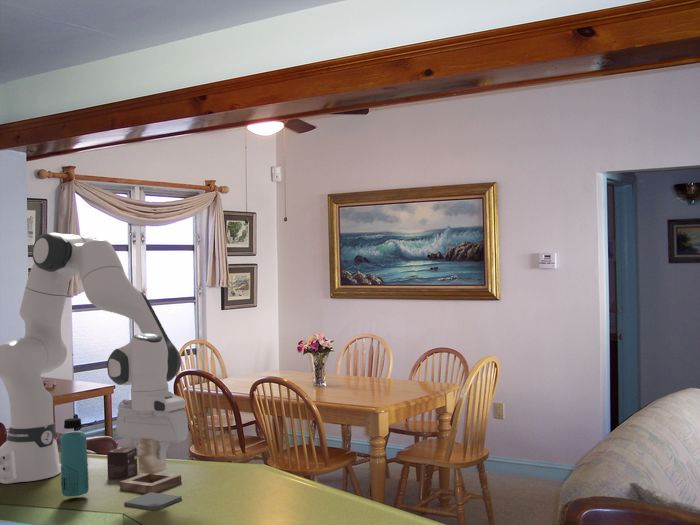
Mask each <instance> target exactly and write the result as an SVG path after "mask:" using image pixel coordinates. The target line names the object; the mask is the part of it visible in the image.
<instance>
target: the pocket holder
mask: <svg viewBox="0 0 700 525" xmlns="http://www.w3.org/2000/svg"><path fill="white" fill-rule="evenodd" d="M181 483H182V475H181V474H174V473H166V472H158V473H155V474H146V473H140V474H138V475H134V476H132V477H130V478H128V479H124V480H121V481H119V490H120V491H128V492H135V493H142V494H147V493H150V492H153V493H159V492H162V491H164V490H166V489H169V488H171V487H175V486H177V485H179V484H181Z"/></svg>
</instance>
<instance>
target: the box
mask: <svg viewBox="0 0 700 525" xmlns="http://www.w3.org/2000/svg"><path fill="white" fill-rule="evenodd" d="M106 454H107V455H106V457H107V459H106V460H107V462H106V463H107V465H106V466H107V479H119V480H122V479H124V480H126V479H129V478H132V477H135V476H136V475H137V474H138V473H139V471H138V450H137V448H136V447H116V448H113V449H111V450H109V451H107V453H106Z"/></svg>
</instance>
